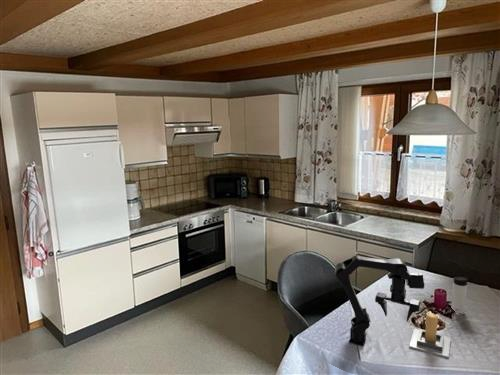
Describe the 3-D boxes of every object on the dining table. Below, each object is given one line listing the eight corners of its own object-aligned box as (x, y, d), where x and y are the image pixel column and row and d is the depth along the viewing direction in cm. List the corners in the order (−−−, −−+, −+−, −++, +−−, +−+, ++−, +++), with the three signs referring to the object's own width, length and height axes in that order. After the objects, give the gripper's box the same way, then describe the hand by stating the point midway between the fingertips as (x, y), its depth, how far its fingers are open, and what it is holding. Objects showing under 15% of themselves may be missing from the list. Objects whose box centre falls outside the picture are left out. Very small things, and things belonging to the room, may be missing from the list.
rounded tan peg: (422, 340, 173) (424, 315, 170) (429, 337, 174) (431, 312, 172) (430, 345, 168) (432, 320, 166) (438, 343, 170) (440, 317, 167)
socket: (409, 347, 169) (409, 342, 168) (414, 329, 182) (414, 324, 182) (448, 358, 161) (449, 352, 160) (450, 339, 174) (451, 333, 174)
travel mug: (458, 316, 193) (461, 281, 189) (448, 310, 199) (451, 275, 195) (467, 314, 194) (471, 279, 190) (457, 308, 200) (460, 274, 196)
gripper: (423, 284, 168) (421, 315, 171) (380, 276, 178) (379, 305, 181) (419, 294, 159) (417, 327, 162) (375, 285, 168) (374, 316, 171)
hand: (396, 318), depth 169 cm, fingers open, 9 cm apart
